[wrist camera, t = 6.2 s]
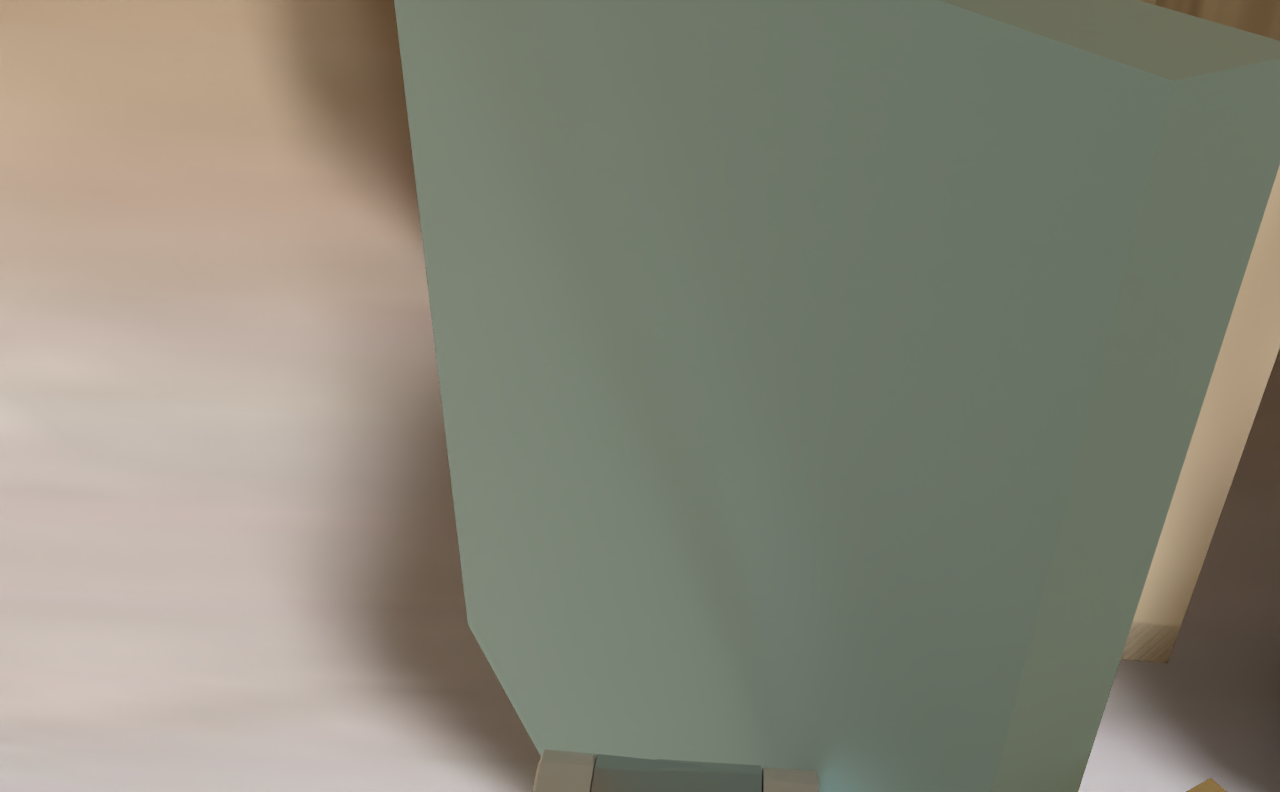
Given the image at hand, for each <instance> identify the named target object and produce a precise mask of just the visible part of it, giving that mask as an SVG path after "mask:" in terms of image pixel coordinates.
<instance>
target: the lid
mask: <svg viewBox="0 0 1280 792" xmlns="http://www.w3.org/2000/svg"><path fill="white" fill-rule="evenodd" d="M394 4H395V13H396V21H397V30H398V38H399V47H400V55H401V63H402V72H403V80H404V89H405V97H406V106H407V114H408V123H409V131H410V140H411V148H412V156H413V165H414V173H415V182H416V190H417V199H418V207H419V216H420V224H421V233H422V241H423V249H424V258H425V266H426V275H427V283H428V292H429V300H430V309H431V317H432V326H433V334H434V343H435V351H436V359H437V368H438V376H439V385H440V393H441V402H442V410H443V419H444V427H445V436H446V444H447V452H448V461H449V469H450V478H451V486H452V495H453V503H454V512H455V520H456V529H457V537H458V546H459V554H460V562H461V571H462V579H463V588H464V596H465V605H466V613H467V622H468V626H469V627H470V629H471V631H472V633H473V635H474V636H475V638H476V640H477V642H478V644H479V646H480V647H481V649H482V651H483V653H484V655H485V656H486V658H487V660H488V662H489V664H490V666H491V667H492V669H493V671H494V673H495V675H496V676H497V678H498V680H499V682H500V684H501V685H502V687H503V689H504V691H505V693H506V695H507V696H508V698H509V700H510V702H511V704H512V705H513V707H514V709H515V711H516V713H517V715H518V716H519V718H520V720H521V722H522V724H523V725H524V727H525V729H526V731H527V733H528V734H529V736H530V738H531V740H532V742H533V744H534V745H535V747H536V749H537V751H538V753H539V754H540V756H542V754H543V752H544V750H545V749H547V750H559V751H570V752H582V753H593V754H604V755H613V756H623V757H632V758H642V759H652V760H657V759H665V760H681V761H697V762H713V763H729V764H745V765H761V770H762V769H763V767H769V768H783V769H797V770H811V771H816V773H817V775H818V777H819V780H820V789H821V792H1078V790H1079V787H1080V784H1081V780H1082V777H1083V774H1084V771H1085V768H1086V765H1087V762H1088V759H1089V756H1090V753H1091V749H1092V746H1093V743H1094V740H1095V737H1096V734H1097V731H1098V728H1099V725H1100V721H1101V718H1102V715H1103V712H1104V709H1105V706H1106V703H1107V700H1108V697H1109V694H1110V690H1111V687H1112V684H1113V681H1114V678H1115V675H1116V672H1117V669H1118V666H1119V662H1120V659H1121V656H1122V653H1123V650H1124V647H1125V644H1126V641H1127V638H1128V634H1129V631H1130V628H1131V625H1132V622H1133V619H1134V616H1135V613H1136V610H1137V607H1138V603H1139V600H1140V597H1141V594H1142V591H1143V588H1144V585H1145V582H1146V579H1147V575H1148V572H1149V569H1150V566H1151V563H1152V560H1153V557H1154V554H1155V551H1156V547H1157V544H1158V541H1159V538H1160V535H1161V532H1162V529H1163V526H1164V523H1165V520H1166V516H1167V513H1168V510H1169V507H1170V504H1171V501H1172V498H1173V495H1174V492H1175V488H1176V485H1177V482H1178V479H1179V476H1180V473H1181V470H1182V467H1183V464H1184V461H1185V457H1186V454H1187V451H1188V448H1189V445H1190V442H1191V439H1192V436H1193V433H1194V429H1195V426H1196V423H1197V420H1198V417H1199V414H1200V411H1201V408H1202V405H1203V401H1204V398H1205V395H1206V392H1207V389H1208V386H1209V383H1210V380H1211V377H1212V374H1213V370H1214V367H1215V364H1216V361H1217V358H1218V355H1219V352H1220V349H1221V346H1222V342H1223V339H1224V336H1225V333H1226V330H1227V327H1228V324H1229V321H1230V318H1231V315H1232V311H1233V308H1234V305H1235V302H1236V299H1237V296H1238V293H1239V290H1240V287H1241V283H1242V280H1243V277H1244V274H1245V271H1246V268H1247V265H1248V262H1249V259H1250V255H1251V252H1252V249H1253V246H1254V243H1255V240H1256V237H1257V234H1258V231H1259V228H1260V224H1261V221H1262V218H1263V215H1264V212H1265V209H1266V206H1267V203H1268V200H1269V196H1270V193H1271V190H1272V187H1273V184H1274V181H1275V178H1276V175H1277V172H1278V168H1279V165H1280V41H1279V40H1275V39H1272V38H1268V37H1265V36H1261V35H1258V34H1254V33H1251V32H1247V31H1244V30H1240V29H1237V28H1233V27H1230V26H1226V25H1223V24H1219V23H1216V22H1212V21H1209V20H1205V19H1202V18H1199V17H1195V16H1192V15H1188V14H1185V13H1181V12H1178V11H1174V10H1171V9H1167V8H1164V7H1160V6H1157V5H1153V4H1150V3H1146V2H1143V1H1139V0H394ZM1187 792H1226V791H1225V790H1224V789H1223V788H1222V787H1221V786H1220V785H1218V784H1217V783H1216V782H1215V781H1214V780H1213V779H1212V778H1210V779H1208V780H1206V781H1205V782H1203V783H1201V784H1199V785H1197V786H1196V787H1194V788H1192V789H1190V790H1188V791H1187Z"/></svg>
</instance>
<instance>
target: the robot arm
mask: <svg viewBox="0 0 1280 792" xmlns="http://www.w3.org/2000/svg"><path fill="white" fill-rule="evenodd" d="M532 792H821V789H820V780H819V777H818V775H817V773H816V771H811V770H797V769H783V768H769V767H763V769H762V770H761V765H745V764H729V763H713V762H697V761H681V760H665V759H657V760H652V759H642V758H632V757H623V756H613V755H604V754H593V753H582V752H570V751H559V750H547V749H545V750H544V752H543V754H542V756H541V759H540V761H539V763H538V766H537V771H536V775H535V780H534V785H533V789H532Z"/></svg>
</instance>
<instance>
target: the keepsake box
mask: <svg viewBox="0 0 1280 792" xmlns="http://www.w3.org/2000/svg"><path fill="white" fill-rule="evenodd" d="M1139 1H1143V2H1146V3H1150V4H1153V5H1157V6H1160V7H1164V8H1167V9H1171V10H1174V11H1178V12H1181V13H1185V14H1188V15H1192V16H1195V17H1199V18H1202V19H1205V20H1209V21H1212V22H1216V23H1219V24H1223V25H1226V26H1230V27H1233V28H1237V29H1240V30H1244V31H1247V32H1251V33H1254V34H1258V35H1261V36H1265V37H1268V38H1272V39H1275V40H1279V41H1280V0H1139ZM1279 349H1280V165H1279V168H1278V172H1277V175H1276V178H1275V181H1274V184H1273V187H1272V190H1271V193H1270V196H1269V200H1268V203H1267V206H1266V209H1265V212H1264V215H1263V218H1262V221H1261V224H1260V228H1259V231H1258V234H1257V237H1256V240H1255V243H1254V246H1253V249H1252V252H1251V255H1250V259H1249V262H1248V265H1247V268H1246V271H1245V274H1244V277H1243V280H1242V283H1241V287H1240V290H1239V293H1238V296H1237V299H1236V302H1235V305H1234V308H1233V311H1232V315H1231V318H1230V321H1229V324H1228V327H1227V330H1226V333H1225V336H1224V339H1223V342H1222V346H1221V349H1220V352H1219V355H1218V358H1217V361H1216V364H1215V367H1214V370H1213V374H1212V377H1211V380H1210V383H1209V386H1208V389H1207V392H1206V395H1205V398H1204V401H1203V405H1202V408H1201V411H1200V414H1199V417H1198V420H1197V423H1196V426H1195V429H1194V433H1193V436H1192V439H1191V442H1190V445H1189V448H1188V451H1187V454H1186V457H1185V461H1184V464H1183V467H1182V470H1181V473H1180V476H1179V479H1178V482H1177V485H1176V488H1175V492H1174V495H1173V498H1172V501H1171V504H1170V507H1169V510H1168V513H1167V516H1166V520H1165V523H1164V526H1163V529H1162V532H1161V535H1160V538H1159V541H1158V544H1157V547H1156V551H1155V554H1154V557H1153V560H1152V563H1151V566H1150V569H1149V572H1148V575H1147V579H1146V582H1145V585H1144V588H1143V591H1142V594H1141V597H1140V600H1139V603H1138V607H1137V610H1136V613H1135V616H1134V619H1133V622H1132V625H1131V628H1130V631H1129V634H1128V638H1127V641H1126V644H1125V647H1124V650H1123V653H1122V656H1121V659H1123V660H1135V661H1148V662H1161V663H1168V661H1169V658H1170V656H1171V653H1172V650H1173V647H1174V644H1175V642H1176V639H1177V636H1178V633H1179V630H1180V627H1181V625H1182V622H1183V619H1184V616H1185V613H1186V611H1187V608H1188V605H1189V602H1190V599H1191V596H1192V594H1193V591H1194V588H1195V585H1196V582H1197V580H1198V577H1199V574H1200V571H1201V568H1202V565H1203V563H1204V560H1205V557H1206V554H1207V551H1208V549H1209V546H1210V543H1211V540H1212V537H1213V534H1214V532H1215V529H1216V526H1217V523H1218V520H1219V518H1220V515H1221V512H1222V509H1223V506H1224V503H1225V501H1226V498H1227V495H1228V492H1229V489H1230V487H1231V484H1232V481H1233V478H1234V475H1235V472H1236V470H1237V467H1238V464H1239V461H1240V458H1241V456H1242V453H1243V450H1244V447H1245V444H1246V441H1247V439H1248V436H1249V433H1250V430H1251V427H1252V425H1253V422H1254V419H1255V416H1256V413H1257V410H1258V408H1259V405H1260V402H1261V399H1262V396H1263V394H1264V391H1265V388H1266V385H1267V382H1268V379H1269V377H1270V374H1271V371H1272V368H1273V365H1274V363H1275V360H1276V357H1277V354H1278V351H1279Z"/></svg>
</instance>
